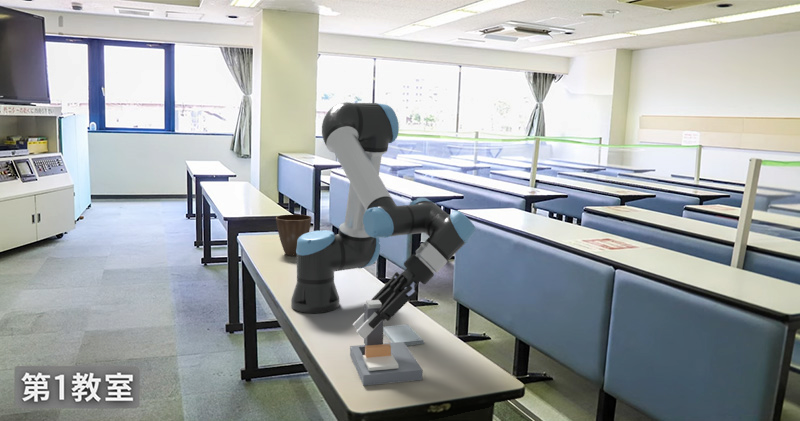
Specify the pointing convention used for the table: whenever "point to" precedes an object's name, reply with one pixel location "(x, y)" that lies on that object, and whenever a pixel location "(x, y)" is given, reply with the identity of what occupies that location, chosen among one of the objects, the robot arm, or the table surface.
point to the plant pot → (292, 231)
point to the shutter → (379, 357)
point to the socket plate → (403, 373)
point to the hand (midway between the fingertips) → (358, 331)
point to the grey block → (377, 333)
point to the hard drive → (402, 334)
